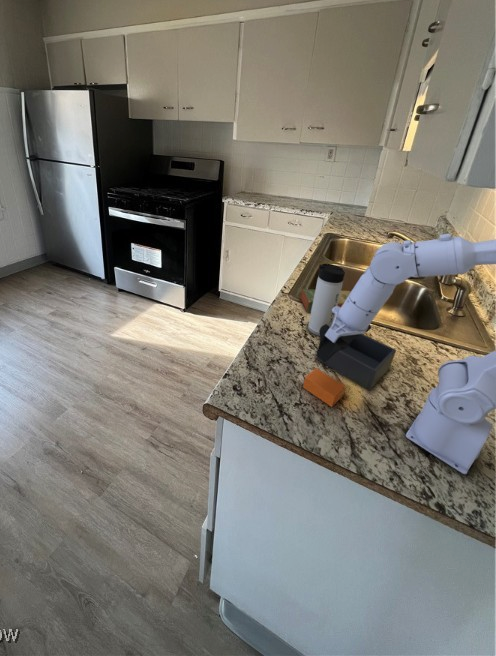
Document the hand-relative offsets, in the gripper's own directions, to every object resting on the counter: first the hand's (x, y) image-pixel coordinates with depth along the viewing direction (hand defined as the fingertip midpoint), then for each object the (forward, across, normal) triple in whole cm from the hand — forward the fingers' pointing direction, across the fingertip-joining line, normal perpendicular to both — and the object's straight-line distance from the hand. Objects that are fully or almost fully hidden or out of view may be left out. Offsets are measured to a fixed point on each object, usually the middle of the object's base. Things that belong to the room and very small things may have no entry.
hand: (330, 351), depth 65 cm
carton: (+12, -34, -14) cm, 39 cm away
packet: (+10, 0, +3) cm, 10 cm away
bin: (+9, -14, +3) cm, 17 cm away
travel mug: (+12, -20, -9) cm, 25 cm away
